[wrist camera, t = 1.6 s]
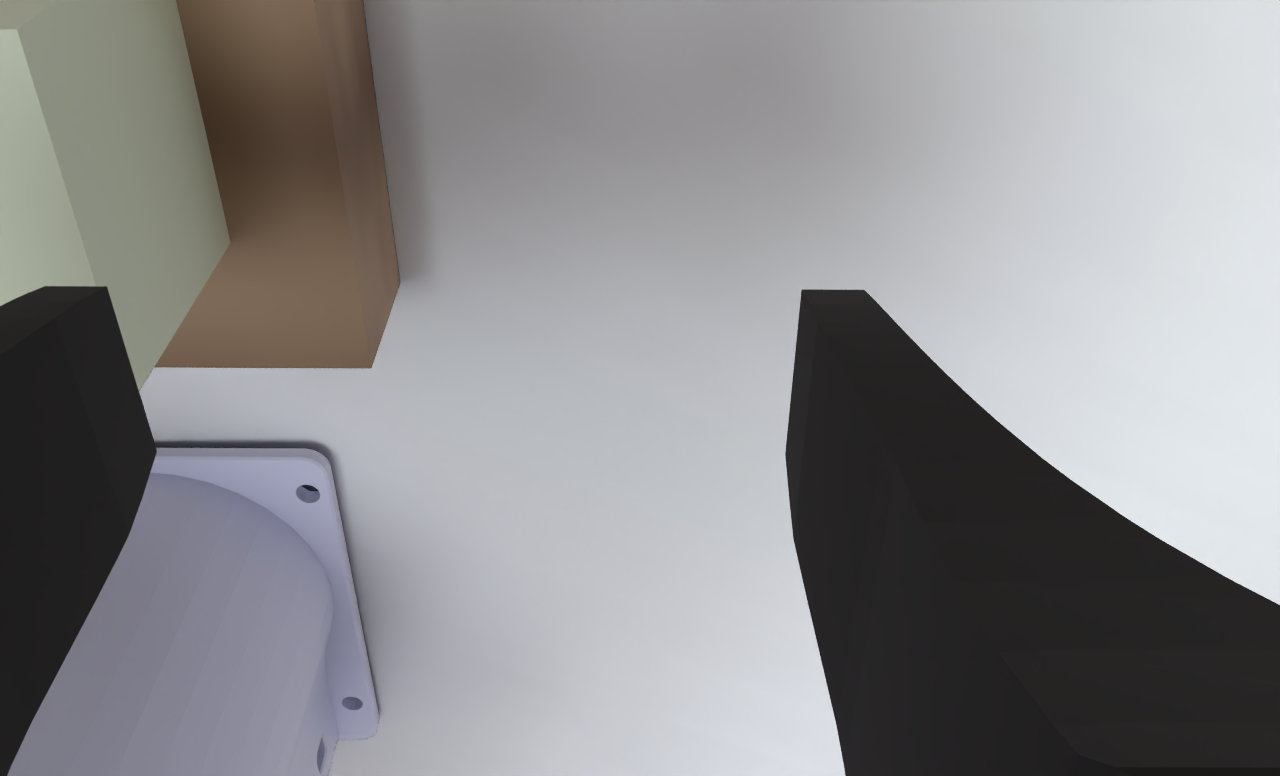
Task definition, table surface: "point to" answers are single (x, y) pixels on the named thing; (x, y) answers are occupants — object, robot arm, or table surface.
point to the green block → (106, 163)
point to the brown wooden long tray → (290, 188)
